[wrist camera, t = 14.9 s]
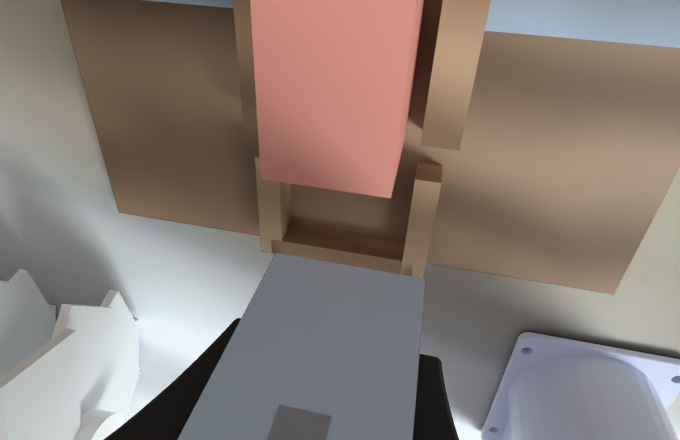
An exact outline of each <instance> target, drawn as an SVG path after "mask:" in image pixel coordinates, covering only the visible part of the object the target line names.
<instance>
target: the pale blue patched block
mask: <svg viewBox="0 0 680 440" xmlns="http://www.w3.org/2000/svg"><path fill="white" fill-rule="evenodd" d="M425 280H426V279H424V278H418V277H412V276H406V275H401V274H395V273H389V272H383V271H377V270H372V269H366V268H360V267H354V266H349V265H343V264H337V263H331V262H326V261H320V260H314V259H308V258H303V257H297V256H291V255H285V254H279V253H276V254H275V256H274V257H273V259H272V261H271V263H270V265H269V267H268V269H267V271H266V273H265V275H264V276H263V278H262V280H261V282H260V284H259V286H258V288H257V290H256V292H255V294H254V295H253V297H252V299H251V301H250V303H249V305H248V307H247V309H246V311H245V312H244V314H243V316H242V318H241V320H240V322H239V324H238V326H237V328H236V330H235V331H234V333H233V335H232V337H231V339H230V341H229V343H228V345H227V347H226V349H225V350H224V352H223V354H222V356H221V358H220V360H219V362H218V364H217V366H216V367H215V369H214V371H213V373H212V375H211V377H210V379H209V381H208V383H207V385H206V386H205V388H204V390H203V392H202V394H201V396H200V398H199V400H198V402H197V404H196V405H195V407H194V409H193V411H192V413H191V415H190V417H189V419H188V421H187V423H186V424H185V426H184V428H183V430H182V432H181V434H180V436H179V438H178V440H413V429H414V416H415V404H416V391H417V379H418V366H419V354H420V342H421V329H422V317H423V304H424V292H425Z"/></svg>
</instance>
